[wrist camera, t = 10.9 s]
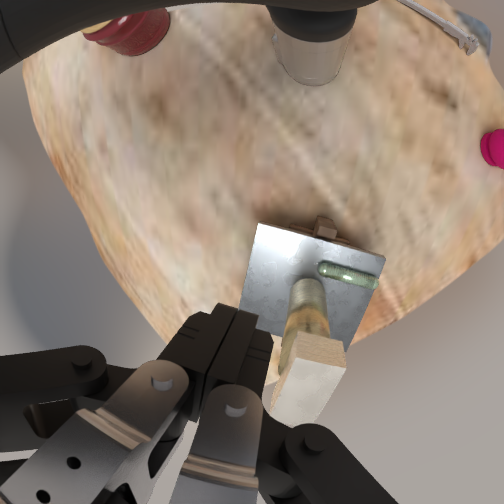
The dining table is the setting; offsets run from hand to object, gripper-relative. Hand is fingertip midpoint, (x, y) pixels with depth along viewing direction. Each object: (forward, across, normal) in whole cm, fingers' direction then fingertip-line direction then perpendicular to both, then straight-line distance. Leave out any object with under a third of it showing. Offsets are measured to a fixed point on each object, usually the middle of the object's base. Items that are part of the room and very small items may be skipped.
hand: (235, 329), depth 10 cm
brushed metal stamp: (+29, +6, -11) cm, 31 cm away
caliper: (+38, +17, +43) cm, 59 cm away
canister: (+37, -36, +29) cm, 59 cm away
